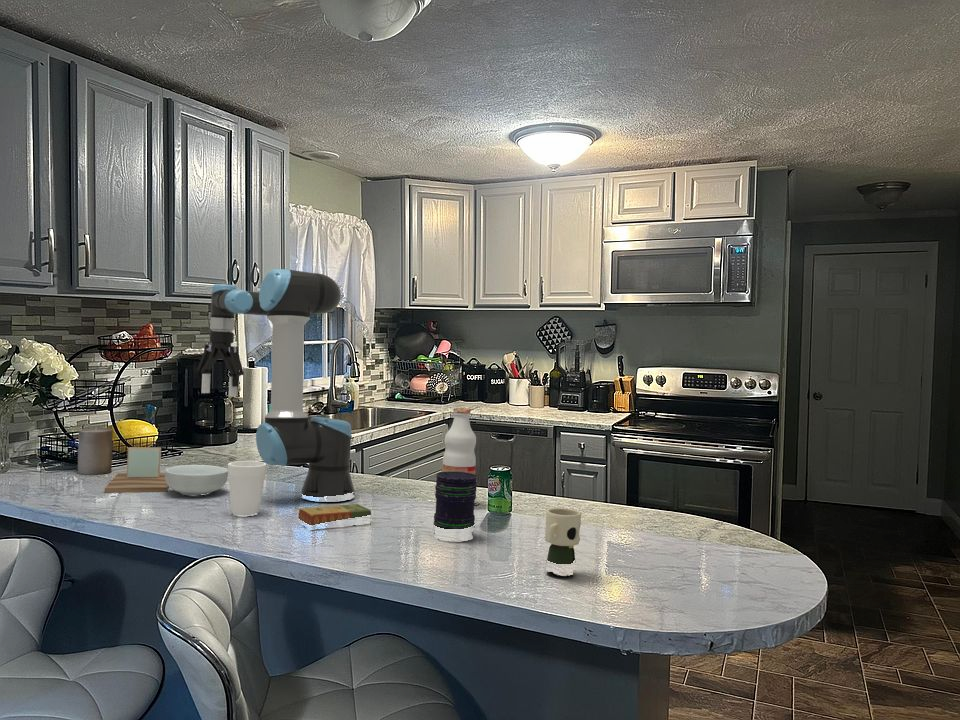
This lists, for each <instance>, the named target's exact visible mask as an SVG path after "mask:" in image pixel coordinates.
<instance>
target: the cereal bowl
mask: <svg viewBox="0 0 960 720" xmlns="http://www.w3.org/2000/svg"><path fill="white" fill-rule="evenodd" d="M227 472H228V467H224V466H223V467H222V466H218V465H207V464H182V465H174V466H170V467H167V468H166V469H165V470H164V473H165V479H166V483H167V485H168V486H169V488H170V489H171V490H173V491H176V492H179V493H180V495H182V494H183V495H182V496H184V495H201V494H207V493H210V494H211V493H213V492H216V491H218V490H220V489H221V488H223V487H224V486H225V484H226V483H227V481H228V479H229V476H228V473H227Z"/></svg>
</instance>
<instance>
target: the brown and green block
mask: <svg viewBox="0 0 960 720" xmlns="http://www.w3.org/2000/svg"><path fill="white" fill-rule="evenodd" d="M371 511H372V510H371V509H369V508H367V507H365V506H363V505H360V504H358V503H353V504H340V505H329V506H328V505H326V506H315V507H303V508H302V507H301V508H299V510H298V517H297V518H299V519H300V520H302V521H304V522H305V523H307V524H309V525H315V524H320V523H325V522H331V521H336V520H342V519H348V518H355V517H362V516H367V515H371V516H372V512H371Z"/></svg>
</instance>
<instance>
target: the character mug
mask: <svg viewBox="0 0 960 720" xmlns="http://www.w3.org/2000/svg"><path fill="white" fill-rule="evenodd" d="M581 525H582V512H580V511H579V510H576V509H573V508H565V507H552V508H548V509H546V513H545V528H544V529H545V530H544V532H545V533H544V540H545V542H547V543H548V544H550V546H549V548H548V553H547V558H546V561H547V560H548V561H550V562H553V563H556V564H571V563H573V561H574V560H575V561H576V556H575V554H576V553H575V548H574V546H577V545H579V544H580V541H581V537H580V531H581V530H580V529H581Z"/></svg>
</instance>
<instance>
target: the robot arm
mask: <svg viewBox="0 0 960 720" xmlns="http://www.w3.org/2000/svg"><path fill="white" fill-rule="evenodd" d="M212 285H213V286H212V288H211V289H212V290H211V294H210V295H211V301H210V303H211V304H210V319H209V321H210V324H209V329H210V332H209V342H210V343H211V344H205V345H204V350H203V353H202V355H201V358H200V360H199V364H198V366H197V368H196V370H197V372H200V374H201V380H200V381H201V394H210V393H211V375H212V374H211V370H212V368H213V366H214V365H215V363H216V362H217V361H218V360H222V361H224V363H225V365H226V367H227V370H228V371H229V373H230V375H229V383H228V397H231V398H233V397H235V398H236V397H238V387H239V378H240V377H241V376H243V375H244V373H245V372H244V369H243V364H242V362H241V359H240V355H239V346H235V345H234V346H233V345H232V344H234V341H235V339H234V337H235V333H234V332H233V331H235V319H236V318H235V317H236V315H241V314H242V315H254V316H255V315H256V316H266V318H267V319H268V321H269V322H271V324H272V330H271V331H272V333H271V335H272V336H271V337H272V339H271V383H270V384H271V385H270V386H271V387H270V388H271V389H270V391H271V393H270V410H269V412H268V413H266V414H265V416H264V422H262V423H260V424H259V425H258V426H257V430H256V433H255V443H256V447H257V448H256V449H257V451H258V454H259V457H260V458H261V459H262V461H263V462H264V463H266V464H267V465H269V466H281V467H284V466H287V465H289V466H290V465H303V464H308V471H307V474H306V477H305V480H304V482H303V485H302V487H301V492H300V493H302V494H303V495H306V496H313V497H324V496H336V495H344V494H347V493H352V492H354V493H355V487H354V483H353V480H352V476H351V473H350V466H351V465H350V463H351V448H352V447H351V446H352V444H351V443H352V437H353V436H352V426H351V423H350V422H349V421H346V420H342V419H337V418H329V417H323V416H322V417H321V416H311V418H310V420H309V416H308V414H307V413H306V412H304V409H303V408H304V406H303V405H304V358H305V357H304V355H305V353H304V352H305V325H306V324H307V323H308V322H309V321H310V320H311V315H321V314H322V315H323V314H327V313H331V312H333V311H335V309H336V308H337V307H338V306H339V304H340V301H341V296H342V294H341V290H340V287H339V284H337V282H336V281H335V280H334V279H333V278H331V277H330V276H328V275H326V274H323V273H319V272H316V273H315V272H310V271H309V272H307V271H301V270H295V269H288V268H285V269H284V268H283V269H282V268H281V269H280V268H274V269H271V270H269V272H267V273H266V274H265V276H264V277H263V280H262V282H261V284H260V288H259V291H250V290H244V289H238V288H237V286H235V285H233V284H225V283H215V284H212Z"/></svg>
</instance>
